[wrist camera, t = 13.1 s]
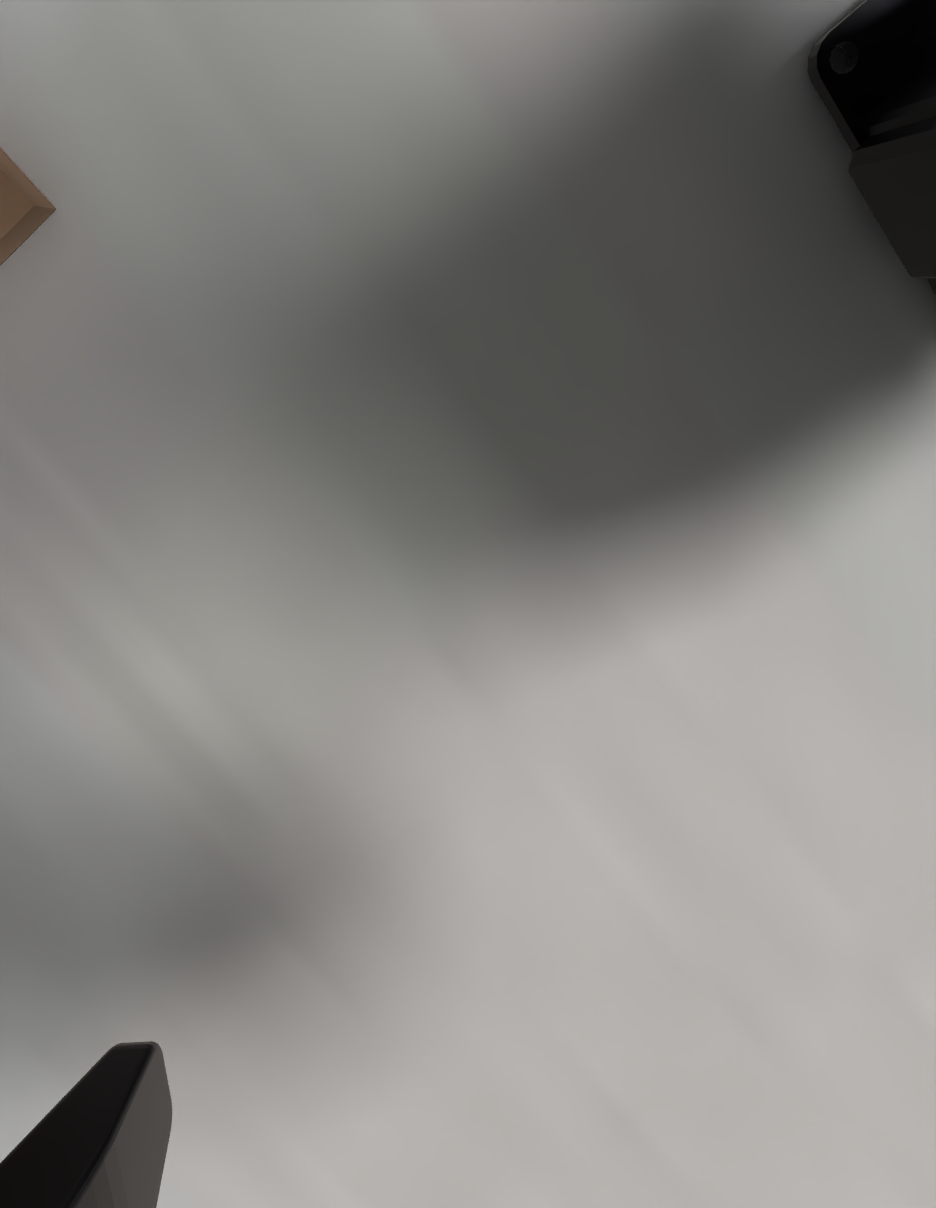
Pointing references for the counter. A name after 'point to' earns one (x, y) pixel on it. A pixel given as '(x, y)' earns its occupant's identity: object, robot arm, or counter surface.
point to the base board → (18, 207)
